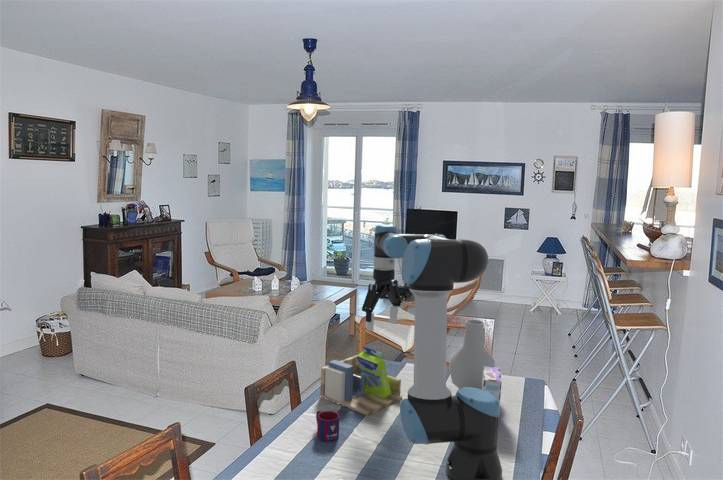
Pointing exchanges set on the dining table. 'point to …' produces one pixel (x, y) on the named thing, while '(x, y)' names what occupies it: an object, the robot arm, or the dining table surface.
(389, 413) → the dining table surface
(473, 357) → the vase
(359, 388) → the bookend
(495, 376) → the candy box
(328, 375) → the shelved books
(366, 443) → the dining table surface
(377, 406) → the shelf
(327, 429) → the mug
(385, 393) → the box
